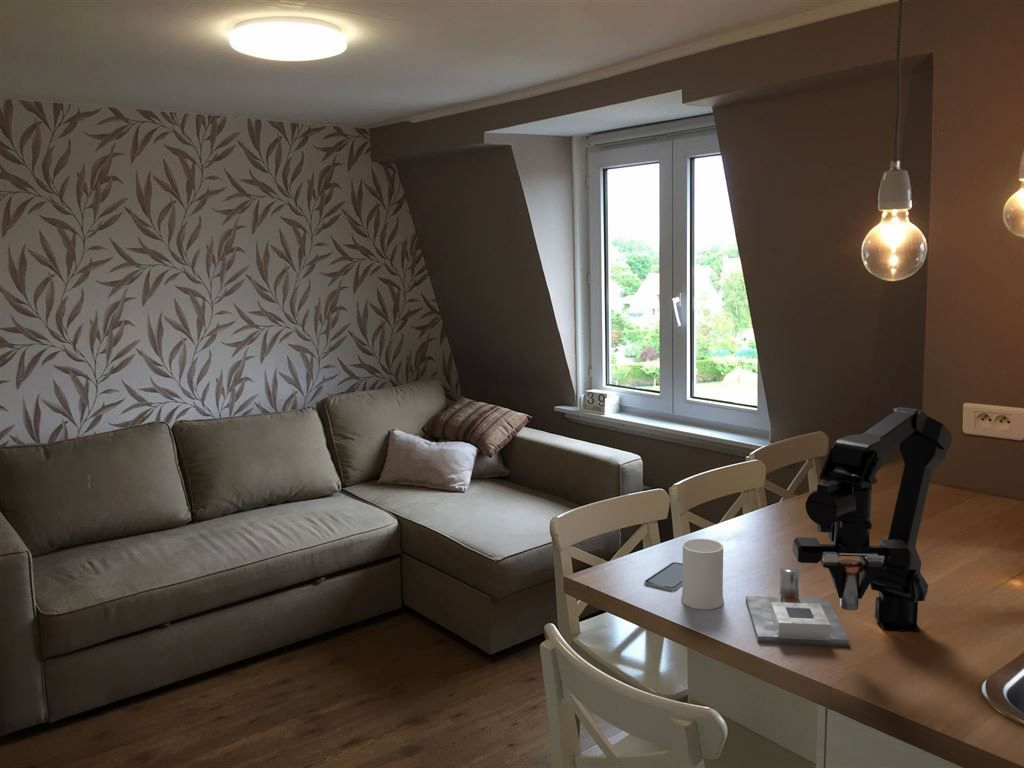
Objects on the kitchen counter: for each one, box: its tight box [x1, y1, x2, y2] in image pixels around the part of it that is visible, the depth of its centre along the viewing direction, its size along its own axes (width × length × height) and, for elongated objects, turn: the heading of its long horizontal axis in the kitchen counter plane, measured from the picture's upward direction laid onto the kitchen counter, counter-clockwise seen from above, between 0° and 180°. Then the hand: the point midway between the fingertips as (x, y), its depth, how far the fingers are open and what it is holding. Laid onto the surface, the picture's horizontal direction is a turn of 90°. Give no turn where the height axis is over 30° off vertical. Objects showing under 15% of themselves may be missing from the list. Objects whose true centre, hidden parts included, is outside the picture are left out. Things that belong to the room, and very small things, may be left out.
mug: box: [680, 538, 725, 611], centre depth 174 cm, size 12×8×12 cm
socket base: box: [745, 566, 850, 647], centre depth 162 cm, size 16×18×8 cm
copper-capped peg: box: [838, 558, 863, 611], centre depth 148 cm, size 4×4×8 cm
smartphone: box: [643, 561, 683, 592], centre depth 186 cm, size 7×1×15 cm
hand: (849, 597), depth 148 cm, fingers closed on copper-capped peg, 3 cm apart
